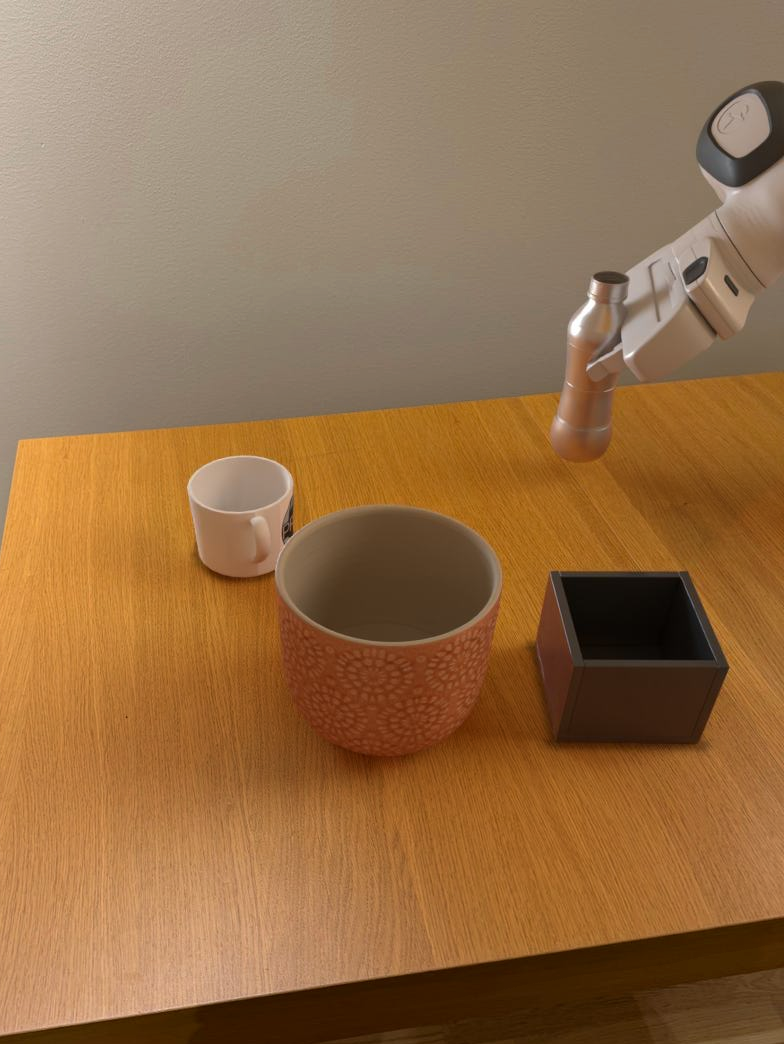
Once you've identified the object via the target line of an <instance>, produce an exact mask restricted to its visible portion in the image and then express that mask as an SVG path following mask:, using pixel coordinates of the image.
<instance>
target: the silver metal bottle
mask: <svg viewBox="0 0 784 1044" xmlns="http://www.w3.org/2000/svg"><path fill="white" fill-rule="evenodd" d="M629 284H630V278H629V276H627V275H626V274H625V273H623V272H619V271H614V270H601V271H596V272H594V273H593V274H592V275H591V278H590V282H589V287H588V289H587V292H586V294H587V297H588V299H587V300H586V301H585V302H584V303H583V304H582V305H581V306H580V307H579V308H577V310H576V311H575V312H574V313H573V315H572V316H571V317H570V319H569V322H568V324H567V329H566V330H567V331H566V362H565V363H566V364H565V371H564V374H565V376H564V381H563V387H562V391H561V395H560V398H559V403H558V406H557V411H556V413H555V414H554V417H553V420H552V422H551V427H550V429H549V437H550V439H549V440H550V441H549V442H550V446H551V448H552V450H553V452H554V454H555V455H557V456H558V457H559V458H561V459H563V460H566V461H569V462H572V463H581V464H583V463H584V464H585V463H592V462H595V461H598V460H599V459H600V458H601V457H603V456H604V454H606V452H607V451H608V449H609V446H610V444H611V441H612V437H613V436H612V435H613V419H612V417H613V411H614V401H615V393H616V388H617V385H618V381H619V378H620V374H621V371H618V372H615V373H612V374H609V375H607V376H606V377H604V378H603V379H602V380H600V381H599V382H593V381H592V380H591V379H590V378H589V376H588V375H587V372H586V365H587V363H589V362H590V361H592V360H594V359H595V358H597V357H598V356H600V357H602V356H604V355H606V354H608V353H610V352H612V351H614V347H616V346H617V345H618V344H620V343H621V342H622V339H621V326H622V324H623V322H624V320H625V318H626V316H627V313H628V311H627V309H626V307H625V305H624V303H623V301H625V300H626V299H627V297H628V288H629Z"/></svg>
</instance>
